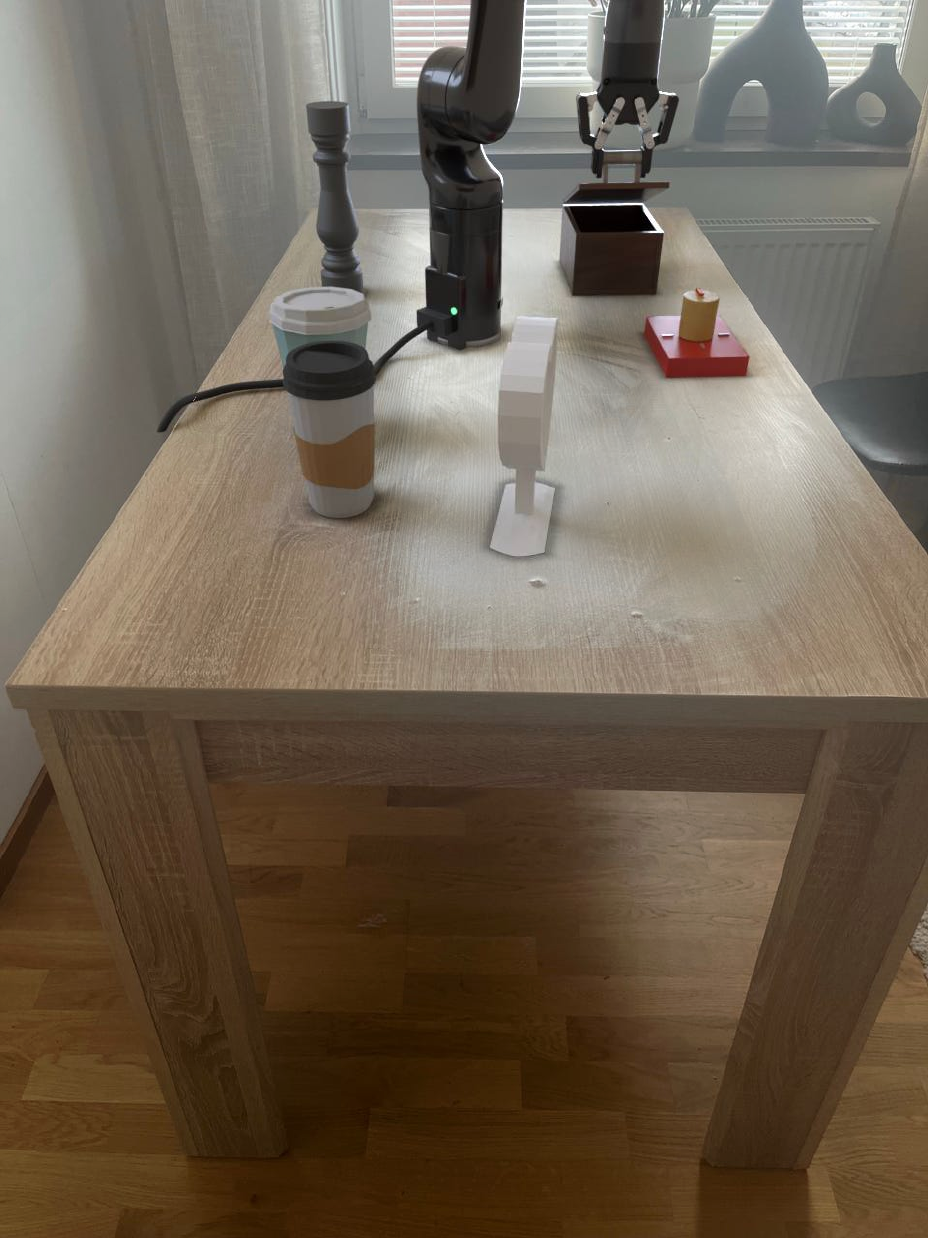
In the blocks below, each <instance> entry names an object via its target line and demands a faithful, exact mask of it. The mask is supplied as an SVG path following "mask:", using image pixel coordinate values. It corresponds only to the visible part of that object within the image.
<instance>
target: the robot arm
mask: <svg viewBox="0 0 928 1238" xmlns="http://www.w3.org/2000/svg"><path fill="white" fill-rule="evenodd" d="M665 1H666V0H608V3H607V8H606V13H605V20H604V22H605V23H604V27H603V48H602V60H601V71H600V73H601V75H600V82H599V85H598V86H597V89H596V90H595V91H594V92H589V93H583V92H579V93H578V94H577V95H576V97H575V101H576V113H577V124H578V135H579V140H580V141H581V142H582V144H583V145H587V146H589V147H590V148H591V156H590V157H591V158H590V171H591V173H592V174H593V175H594V177H595V179H602V173H603V156H604V151H605V149H604V148H603V147H604V145H605V143H606V141H607V139H608V136H609V135H610V133H611V132H612V131H613V128H614V126H621V125H622V126H623V125H625V124H628V125H631V126H636V127H637V129H638V131H639V134H640V138H641V141H642V145H641V146H640V147H639V148H640V149H639V150H642V154H643V156H642V163H641V164H640V179H645V178H646V176H647V175H648V174H649V175H650V172H651V170H652V159H653V151H654V148H655V147H657V146H660V145H665V144H666V143H668V140H669V137H670V134H671V130H672V126H673V123H674V121H675V116H676V112H677V109H678V107H679V103H680V97H679V96H678V95H677V94H676V93H674V92H669V93H668V92H662V91H660V88H659V84H658V81H659V80H658V79H659V72H660V71H659V70H660V62H661V52H662V44H663V36H664V35H663V34H664V25H665V15H666V13H665V12H666V9H665V8H666V7H665V3H666V2H665ZM526 5H527V0H470V5H469V6H470V7H469V19H468V22H469V23H468V30H467V38H466V39H467V40H466V47H463V46H455V45H451V46H450V45H448V46H442V47H439V48H436V50H434V51H433V52H432V53H431V54H430V55H429V56H428V57H427V58H426V60H425V61H424V63H423V65H422V68H421V70H420V73H419V77H418V81H417V88H416V121H417V132H418V133H417V134H418V145H419V147H418V148H419V159H420V168H421V172H422V176H423V179H424V181H425V183H426V186H427V187H426V188H427V193H428V220H429V221H428V223H429V224H428V225H429V228H428V229H429V258H430V259H429V263H430V265H427V266H426V267H425V268H424V279H425V281H424V282H425V285H424V286H425V306H424V307H421V308H419V309H416V312H415V313H416V327H415V328H413V329H412V330H410V331H409V332H407V333H406V334H405V335H403V336H402V337H401V338H400V339H398V340H397V341H396V342H395V343H394V344H393V345H392V346H391V347H390V348H389V349H388V350H387V351H386V352H385V353H383V355H381V356H380V357H379V358H378V360H377V361H376V362H375V363H374V364H373V366H374V374H375V376H376V375H377V374H378V373H379V372H380V371H381V369H382V368H383V367H384V365H385V364H386V363H387V362H388V361H389V360H391V359H392V357H394V356H395V355H396V354H397V353H398V352H399V351H400V350H401V349H402V348H403V347H405V346H406V345H407V344H408V343H409V342H410V341H412V340H414V339H415V338H416V337H418V336H419V335H421V334H422V333H424V332H426V339H427V340H429V341H432V342H434V343H437V344H440V345H443V346H446V347H448V348H451V349H454V350H457V351H463V350H465V349H473V348H481V347H486V346H490V345H492V344H495V343H496V342H498V341H499V340H500V339H501V337H502V325H501V324H502V307H503V304H504V296H502V280H503V279H502V278H503V277H502V275H503V273H502V271H503V269H502V267H503V226H504V225H503V224H504V223H503V222H504V180H503V176H502V174H501V173H500V172H499V170H497V168H496V167H494V165H493V164H492V163H491V162H490V160H489V159H488V157H487V155H486V153H485V150H484V148H483V146H490V145H494V144H497V143H498V142H500V141H501V140H502V139H503V138H504V137H506V135H507V134H508V132H509V131H510V129H511V127H512V125H513V123H514V121H515V118H516V115H517V111H518V108H519V103H520V98H521V88H522V78H523V77H522V75H523V59H524V39H525V21H526V20H525V17H526V7H527V6H526ZM596 102H597V103H598V104H599V106H600V108H601V110H602V112H603V114H602V116H601V118H600V121H599V123H598V126H597V129H596V131H595V133H594V134H591V126H590V114H589V113H590V112H592V111H593V110H594V105H595V103H596ZM657 102H659V109H660V110H661V111H662V112H661V115H660V118H659V122H658V126H657V130H656V133H653V131H652V126H651V123H650V119H649V116H648V114H649V113H650V112H651V110H652V109H653V108H654V106H655V105H656V104H657ZM279 388H284V386H283V378H278V379H265V380H251V381H241V382H233V383H229V384H223V385H220V386H217V387H213V388H209V389H206V390H202V391H198V392H194V393H191V394H187V395H185V396H183V397H181V398H179V399H178V400H176V402H174V403H173V404H172V405H171V407H169V408H168V410H167V412H166V413H165V414H164V415H163V417H162V419H161V421H160V422H159V424H158V427H157V430H156V433H159V434H160V433H165V432H166V431H168V428H169V426H170V425H171V423H172V421H173V420H174V418H175V417H176V416H177V414H178V413H179V412H180V411H181V410H182V409H183V408H185V407H186V406H188V405H191V404H193V403H194V404H195V403H197V402H201V401H204V400H208V399H212V398H215V397H219V396H222V395H226V394H229V393H235V392H242V391H249V390H263V389H279ZM195 397H196V398H195ZM194 399H195V400H194ZM193 400H194V401H193Z"/></svg>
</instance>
